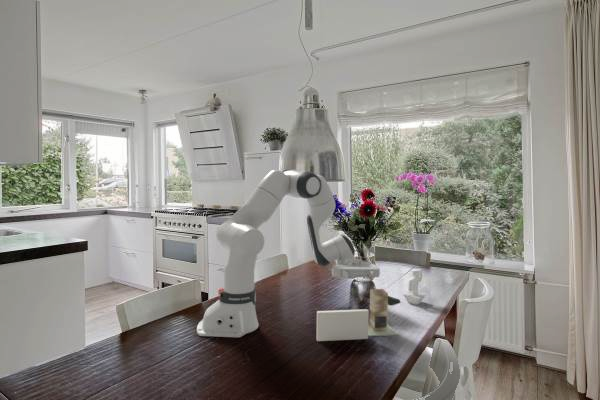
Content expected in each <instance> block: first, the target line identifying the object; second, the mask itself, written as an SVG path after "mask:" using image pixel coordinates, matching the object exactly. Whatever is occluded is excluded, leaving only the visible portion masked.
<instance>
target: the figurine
mask: <svg viewBox="0 0 600 400" xmlns="http://www.w3.org/2000/svg"><path fill="white" fill-rule="evenodd" d="M422 278H423V269H419V268H418V269H415V268H414V269H412V270H411V278H409V279H408V284H407V285H408V286H407V288H408V289H407V290H408V292H406V293H404V294H403V296H404V298H405V300H406V302H407V303H408V304H411V305H416V306H418V305H419V304H421V303H422V302H423V300H424V299H425V297H426V296H427V294H425V293H421V292H419V283H420V282H421V281H422V280H423V279H422Z"/></svg>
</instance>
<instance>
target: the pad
mask: <svg viewBox="0 0 600 400" xmlns="http://www.w3.org/2000/svg"><path fill="white" fill-rule="evenodd" d="M385 336H386V337H387V336H397V333H396V331H395V330H394V329H393V328H392V327H391V326H390V325H389V323H387V331H377V332H374V331H373V330H372V329H371V327H370V326H369V322H368V337H385Z"/></svg>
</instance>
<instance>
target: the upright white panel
mask: <svg viewBox="0 0 600 400" xmlns="http://www.w3.org/2000/svg"><path fill="white" fill-rule="evenodd" d="M369 319H370V310H369V309H367V308H365V309H363V308H361V309H338V310H317V311H316V339H315V340H316V341H317V342H328V341H330V342H333V341H351V340H368V339H369V335H368V323H369Z"/></svg>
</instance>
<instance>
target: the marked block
mask: <svg viewBox="0 0 600 400" xmlns="http://www.w3.org/2000/svg"><path fill="white" fill-rule="evenodd" d="M369 293H370V298H369V320H368V323H369V326H370V327H371V329H372V330H373V331H374V332H377V331H387V324H388V309H389V308H388V307H389V305H388V296H389V293H388V291H386V290H385V289H384V288H371V289H369Z"/></svg>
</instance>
